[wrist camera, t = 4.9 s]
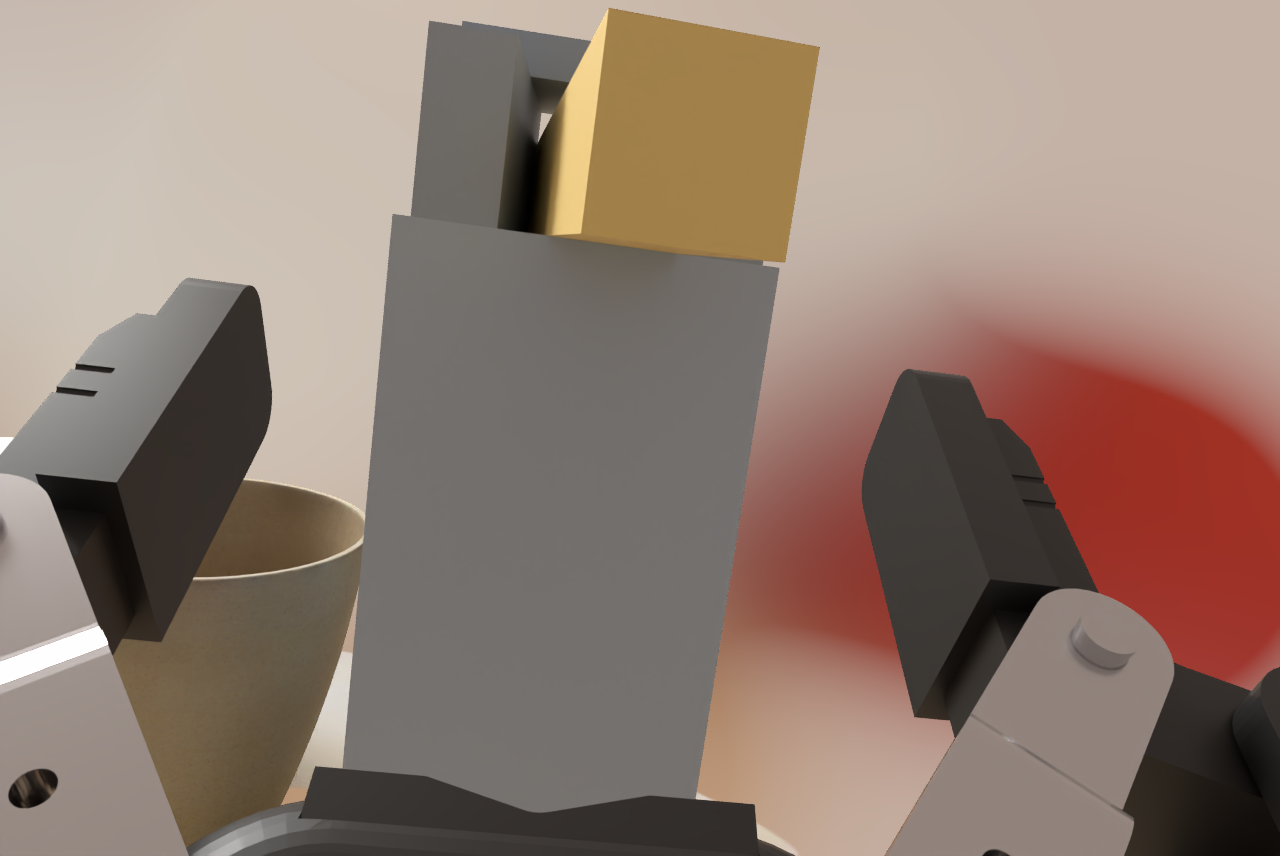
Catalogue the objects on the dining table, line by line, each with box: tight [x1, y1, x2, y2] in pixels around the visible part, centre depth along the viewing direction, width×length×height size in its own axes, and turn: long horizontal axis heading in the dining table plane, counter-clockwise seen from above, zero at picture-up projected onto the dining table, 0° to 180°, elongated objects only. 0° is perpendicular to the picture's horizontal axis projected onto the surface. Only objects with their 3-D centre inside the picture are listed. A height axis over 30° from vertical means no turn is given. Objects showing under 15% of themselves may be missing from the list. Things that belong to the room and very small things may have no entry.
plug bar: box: [527, 8, 820, 262], centre depth 28 cm, size 24×4×4 cm, turn 9°
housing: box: [343, 21, 779, 813], centre depth 36 cm, size 14×11×37 cm
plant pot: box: [113, 478, 366, 848], centre depth 44 cm, size 15×15×16 cm
